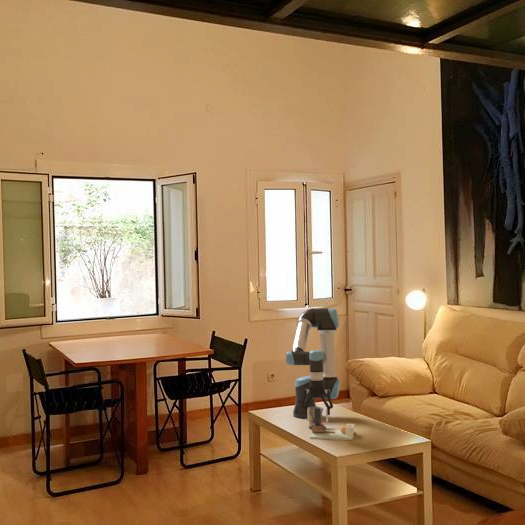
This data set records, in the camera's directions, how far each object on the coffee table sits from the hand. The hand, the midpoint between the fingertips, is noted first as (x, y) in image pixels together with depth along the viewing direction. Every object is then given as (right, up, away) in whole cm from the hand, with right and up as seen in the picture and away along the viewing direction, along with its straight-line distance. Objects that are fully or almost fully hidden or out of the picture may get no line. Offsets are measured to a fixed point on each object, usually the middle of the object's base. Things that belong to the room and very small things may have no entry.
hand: (317, 421), depth 332 cm
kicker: (+1, -5, 0) cm, 5 cm away
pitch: (+8, -7, -3) cm, 11 cm away
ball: (+14, -4, -3) cm, 15 cm away
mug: (0, -7, +16) cm, 17 cm away
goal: (+17, -7, -4) cm, 18 cm away
